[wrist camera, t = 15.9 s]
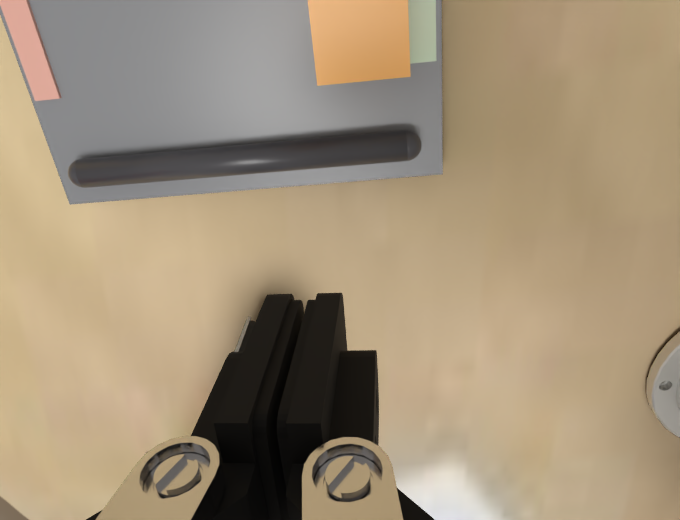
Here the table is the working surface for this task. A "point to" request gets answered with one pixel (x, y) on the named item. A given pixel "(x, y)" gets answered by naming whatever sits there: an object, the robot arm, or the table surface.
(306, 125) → the breaker block
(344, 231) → the table surface
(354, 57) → the handle
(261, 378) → the robot arm
